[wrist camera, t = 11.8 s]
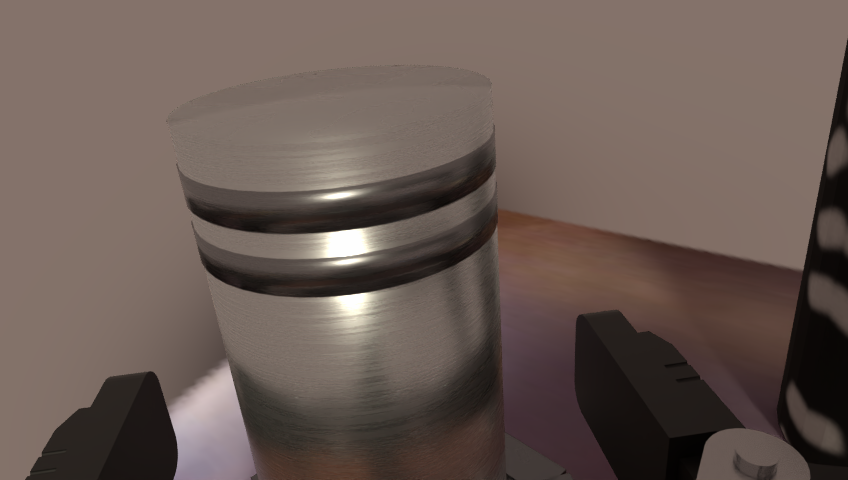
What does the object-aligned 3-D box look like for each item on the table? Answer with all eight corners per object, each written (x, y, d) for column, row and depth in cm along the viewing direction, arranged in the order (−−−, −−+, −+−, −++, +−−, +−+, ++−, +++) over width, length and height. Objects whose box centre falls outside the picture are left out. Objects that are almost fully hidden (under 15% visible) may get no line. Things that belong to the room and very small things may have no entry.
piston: (417, 521, 20) (362, 58, 14) (556, 639, 16) (561, 77, 10) (269, 642, 17) (115, 111, 11) (399, 821, 13) (275, 166, 7)
